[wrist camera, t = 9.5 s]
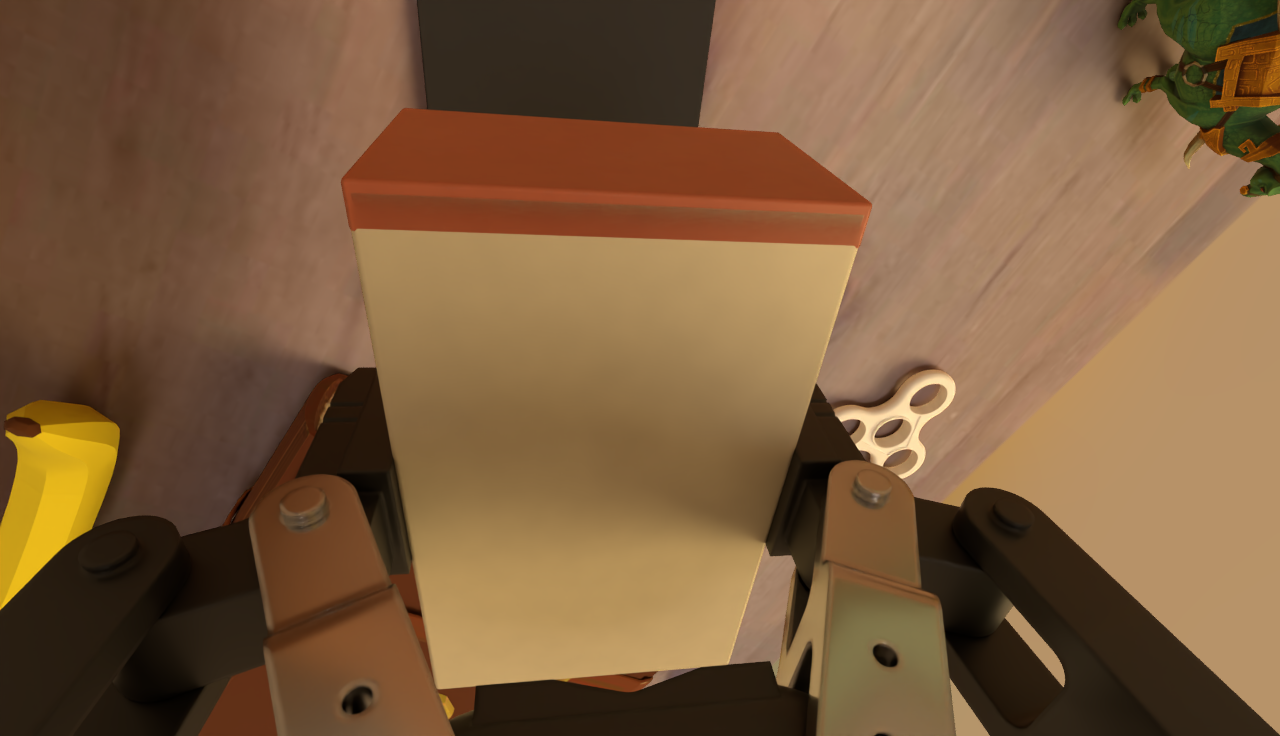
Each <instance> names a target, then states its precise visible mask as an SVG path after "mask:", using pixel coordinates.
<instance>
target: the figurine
mask: <svg viewBox="0 0 1280 736" xmlns="http://www.w3.org/2000/svg"><path fill="white" fill-rule="evenodd" d="M1155 3H1156V5H1157V15H1158V18H1159V21H1160V24H1161V27H1162V29H1163V31H1164V32H1165V34H1166V35H1167V36H1169V37H1170V38H1172V39H1173V40H1174V41H1176V42H1177V43H1179V44H1180V45H1181V46H1182V47H1183V48H1184V49H1185V51H1184V53H1183V55H1182V57H1181V59H1180V62H1179V64H1175V65H1174V66H1172V67H1171V68H1170V69H1169V70H1168V72H1167V75H1166V76H1162V75H1155V76H1153V77H1146V78H1145V79H1144V80H1143V82H1141V83H1138V84H1134V85H1133V86H1132V88H1131V89H1130V90H1129V92H1128V94H1127V95H1126V96H1125V97H1124V99H1123V102H1122V103H1123V105H1124V106H1125V105H1126V104H1127V103H1128V102H1129V101H1130V99H1131V96H1132V95H1133V102H1135V103H1138V102H1139V101H1140V100H1141V93H1145V92H1152V91H1154V90H1157V89H1161V90H1162V91H1164V92H1165V93H1166V95H1167V98H1168V100H1169V103H1170V104H1171V105H1172V107H1173V108H1174V109H1175V110H1176V111H1177V113H1178V114H1179V115H1180V116H1182V117H1183V118H1185V119H1186V120H1187V121H1189V122H1190V123H1192V124H1195V125H1198V126H1199V127H1200V131H1199V132H1198V134H1197V135H1196V136H1195V137H1194V138H1193V140H1192V141H1191V142H1190V143H1189V145H1188V147H1187V149H1186V151H1185V152H1184V162H1185V164H1186V165H1187V167H1188V169H1189V166H1190V160H1191V157H1192V155H1193V154H1194V153H1195V152H1196V151H1198V150H1199V148H1200V147H1201V146H1202V145H1203V144H1204V143H1206V145H1207V146H1208V147H1209V148H1210V149H1212V150H1213V151H1214V152H1215V153H1217V154H1219V155H1220V156H1222V155H1226V154H1231V155H1234V156H1236V157H1239V158H1241V159H1242V160H1244V161H1246V162H1252V161H1254V162H1258V163H1261V164H1262V165H1263V167H1261V168H1260V169H1258V170H1257V171H1256V173H1255V174H1254V176H1253V177H1252V179H1251V180H1250V184H1249V185H1247V186H1243V187H1241V189H1240V194H1242V195H1243V196H1246V197H1256V196H1262V195H1268V196H1271V195H1276V194H1280V125H1278V126H1277V125H1276V124H1275V123H1274V122H1273V121H1272V120H1271V119H1269V118H1268V117H1267V116H1266V114H1268V113H1271V112H1273V111H1275V110H1277V109H1278V108H1280V0H1132V2H1131V3H1130V4H1129V5H1127V6H1126V7H1125V9H1124V11H1123V13H1122V15H1121V18H1120V20H1119V22H1118V28H1119V29H1121V30H1122V29H1123V28H1124V27H1125V26H1126V25H1127V22H1128V25H1129V26H1131V27H1132V26H1133V25H1134V24H1135V23H1136V21H1137V13H1138V18H1140V19H1143V20H1144V18H1145V17H1146V15H1147V11H1146V10H1145V7H1146V5H1147V4H1155ZM1128 18H1129V20H1128Z"/></svg>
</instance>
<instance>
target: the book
mask: <svg viewBox="0 0 1280 736" xmlns="http://www.w3.org/2000/svg"><path fill="white" fill-rule="evenodd" d="M347 377H348V376H347V375H343V374H339V373H338V374H335V375H332V376H329V377H327V378H325V379H323V380H322V381H321V382H319V383H318V384H317V385H316V387H315V388H314V389H313V391H312V392H311V394H310V396H309V397H308V399H307V400H306V402H305V404H304V405H303V407H302V409H301V410H300V412H299V413H298V415H297V417H296V418H295V420H294V422H293V423H292V425H291V426H290V428H289V430H288V431H287V433H286V435H285V436H284V438H283V439H282V441H281V443H280V444H279V446H278V448H277V449H276V451H275V452H274V454H273V456H272V457H271V459H270V461H269V462H268V464H267V465H266V467H265V469H264V470H263V472H262V474H261V475H260V477H259V478H258V480H257V482H256V483H255V485H254V486H253V487H251V488H250V489H248V490H246V491H245V492H244V494H243V495H242V496H241V497H240V498H239V500H238V501H237V503H236V504H235V506H234V507H233V509H232V511H231V512H230V514H229V516H228V517H227V519H226V521H225V522H224V524H223V525H222V526H225V525H229V524H230V522H231V519H232V517H233V516H234V514H235V513H236V512H237V511H238V510H239V511H238V513H237V514H236V516H235V517H234V519H233V521H232V522H231V524H232V523H235V522H239V521H242V520H244V519H247V518H249V517H250V514H251V512H252V510H253V508H254V507H255V505H256V504H257V503H258V501H259V500H260V499H261V498H262V497H263V496H264V495H266V494H267V493H268V492H270V491H271V490H272V489H274V488H276V487H277V486H279V485H281V484H283V483H285V482H288V481H290V480H293V479H295V477H296V475H297V473H298V471H299V469H300V466H301V464H302V462H303V460H304V458H305V456H306V454H307V451H308V449H309V447H310V445H311V443H312V441H313V439H314V436H315V434H316V432H317V430H318V428H319V426H320V424H321V423H323V417H324V415H325V413H326V411H327V409H328V407H330V402H331V400H332V398H333V396H334V393H335V391H336V389H337V387H338V385H339V384H340V383H341V382H342V381H343V380H344V379H345V378H347ZM389 578H390V581H391V583H392V584H394V583H395V584H396V586H397V588H398V590H399V592H400V594H401V597H402V599H403V602H404V604H405V607H406V610H407V612H408V615H409V618H410V620H411V623H412V625H413V628H414V631H415V633H416V636H417V638H418V641H419V644H420V646H421V649H422V651H423V654H424V657H425V659H426V662H427V664H428V667H429V670H430V672H431V675H432V677H433V672H432V666H431V661H430V656H429V650H428V645H427V639H426V634H425V628H424V623H423V618H422V612H421V607H420V601H419V596H418V590H417V585H416V580H415V574H414V569H413V563H411V568H410V573H409V574H400V575H389ZM656 672H658V671H650V672H638V673H626V674H615V675H603V676H591V677H579V678H567V679H556V680H560V681H565V682H571V683H576V684H582V685H588V686H593V687H599V688H605V689H610V690H616V691H622V692H635V691H639V690H641V689H642V688H643V687H645V686H646V685H647V684H648V683H650V682H651V681H652V679H653V675H654V674H655V673H656ZM433 680H434V677H433ZM437 690H438V693H439V696H440V698H441V701H442V703H443V706H444V709H445V711H446V714H447V716H448V719H449V720H451V719H453V718H455V717H457V716H459V715H461V714H464V713H467V712H470V711H472V710H474V702H475V690H476V686H473V687H461V688H449V689H437ZM198 736H278V734H277V729H276V723H275V717H274V711H273V705H272V699H271V693H270V688H269V682H268V676H267V670H266V664H265V665H263V666H260V667H257V668H254V669H251V670H248V671H246V672H243V673H240V674H237V675H234V676H232V677H231V679H230V681H229V682H228V684H227V686H226V688H225V689H224V691H223V693H222V695H221V696H220V698H219V700H218V702H217V703H216V705H215V707H214V709H213V710H212V712H211V714H210V716H209V717H208V719H207V721H206V723H205V724H204V726H203V728H202V730H201V731H200V733H199V735H198Z"/></svg>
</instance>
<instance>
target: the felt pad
mask: <svg viewBox="0 0 1280 736" xmlns="http://www.w3.org/2000/svg"><path fill="white" fill-rule="evenodd" d="M715 2H716V0H417V7H418V17H419V27H420V38H421V48H422V58H423V69H424V79H425V89H426V99H427V110H442V111H457V112H472V113H487V114H503V115H518V116H533V117H548V118H563V119H579V120H594V121H609V122H624V123H639V124H655V125H670V126H685V127H698V124H699V116H700V109H701V102H702V95H703V88H704V81H705V73H706V66H707V59H708V52H709V45H710V37H711V30H712V23H713V16H714V9H715Z"/></svg>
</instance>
